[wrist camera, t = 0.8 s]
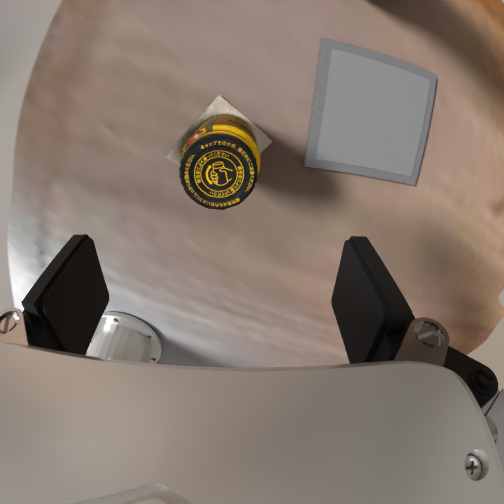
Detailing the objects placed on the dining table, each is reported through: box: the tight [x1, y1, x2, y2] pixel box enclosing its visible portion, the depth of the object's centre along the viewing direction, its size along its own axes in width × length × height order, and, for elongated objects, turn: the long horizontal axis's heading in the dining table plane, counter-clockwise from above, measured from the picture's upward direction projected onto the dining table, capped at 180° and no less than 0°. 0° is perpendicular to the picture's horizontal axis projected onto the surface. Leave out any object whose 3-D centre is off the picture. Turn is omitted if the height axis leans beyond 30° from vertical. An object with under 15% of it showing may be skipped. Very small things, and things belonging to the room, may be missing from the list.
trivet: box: [303, 38, 437, 185], centre depth 27 cm, size 14×14×1 cm
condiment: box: [166, 95, 273, 210], centre depth 24 cm, size 7×8×12 cm
